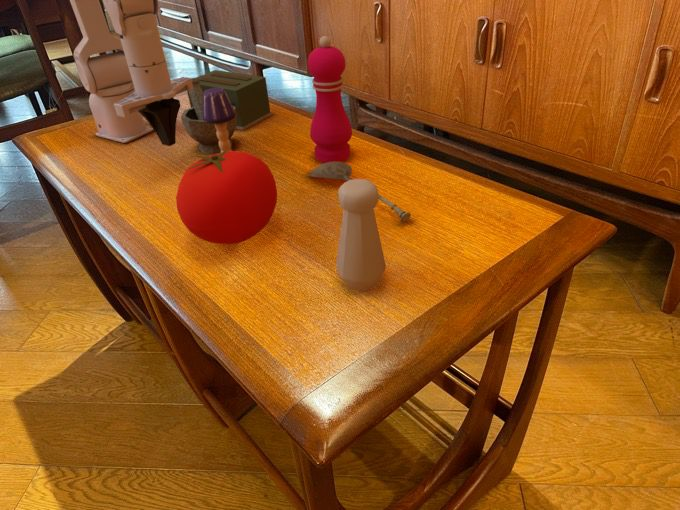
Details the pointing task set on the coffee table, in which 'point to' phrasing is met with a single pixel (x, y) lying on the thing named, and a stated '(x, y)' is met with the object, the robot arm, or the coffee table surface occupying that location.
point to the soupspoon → (343, 173)
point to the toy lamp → (218, 114)
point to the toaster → (240, 95)
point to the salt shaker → (359, 236)
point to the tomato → (226, 197)
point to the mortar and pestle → (203, 123)
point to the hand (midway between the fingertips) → (168, 143)
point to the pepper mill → (329, 104)
